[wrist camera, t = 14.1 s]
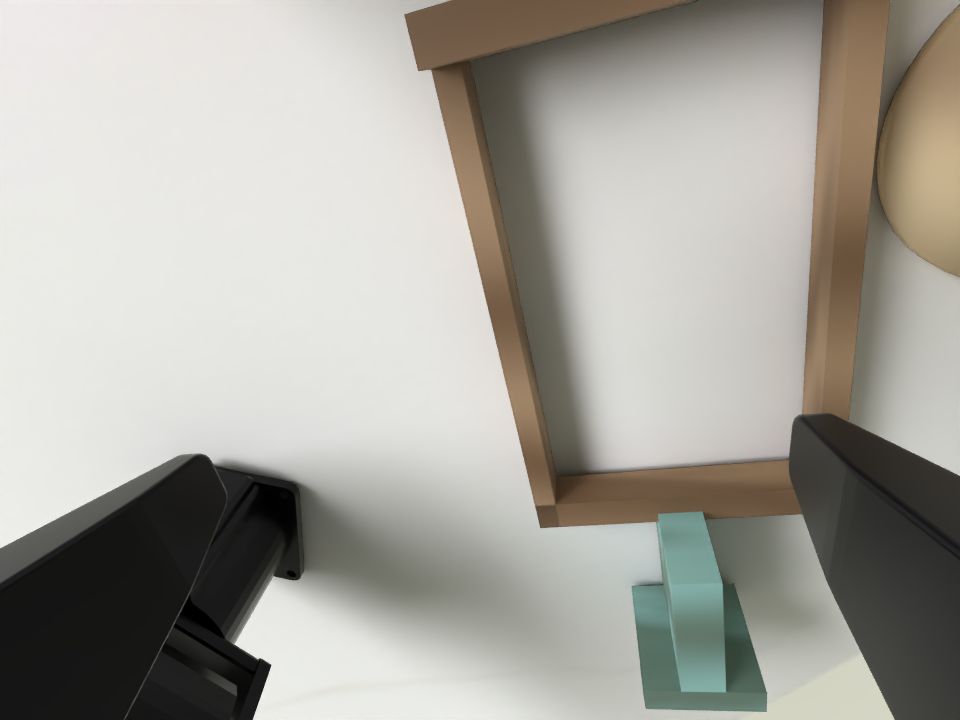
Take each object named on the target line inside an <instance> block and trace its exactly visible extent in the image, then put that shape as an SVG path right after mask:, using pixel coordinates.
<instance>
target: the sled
mask: <svg viewBox="0 0 960 720" xmlns="http://www.w3.org/2000/svg"><path fill="white" fill-rule="evenodd" d="M694 1H697V0H452V1H448V2H445V3H442V4H438V5H435V6H431V7H428V8H425V9H421V10H418V11H415V12H411V13H408V14H404V15H405V19H406V23H407V27H408V31H409V35H410V39H411V43H412V48H413V52H414V56H415V60H416V64H417V68H418V71H423V70H431V71H432V75H433V79H434V83H435V87H436V92H437V96H438V100H439V104H440V108H441V113H442V117H443V121H444V125H445V129H446V133H447V138H448V142H449V146H450V150H451V154H452V159H453V163H454V167H455V171H456V175H457V180H458V184H459V188H460V192H461V196H462V201H463V205H464V209H465V213H466V217H467V222H468V226H469V230H470V234H471V238H472V243H473V247H474V251H475V255H476V259H477V264H478V268H479V272H480V276H481V280H482V285H483V289H484V293H485V297H486V301H487V306H488V310H489V314H490V318H491V322H492V327H493V331H494V335H495V339H496V343H497V348H498V352H499V356H500V360H501V364H502V368H503V373H504V377H505V381H506V385H507V389H508V394H509V398H510V402H511V406H512V410H513V415H514V419H515V423H516V427H517V431H518V436H519V440H520V444H521V448H522V452H523V457H524V461H525V465H526V469H527V473H528V478H529V482H530V486H531V490H532V494H533V499H534V503H535V507H536V511H537V515H538V520H539V524H540V528H549V527H568V526H586V525H605V524H624V523H643V522H657V530H658V540H659V549H660V559H661V568H662V578H663V585H658V586H632V593H633V602H634V612H635V621H636V630H637V639H638V648H639V657H640V667H641V676H642V685H643V693H644V700H645V707H646V709H672V710H713V711H753V712H766V711H767V692H766V688H765V685H764V682H763V678H762V675H761V672H760V668H759V665H758V662H757V658H756V655H755V652H754V648H753V645H752V642H751V639H750V635H749V632H748V629H747V625H746V622H745V619H744V615H743V612H742V609H741V605H740V602H739V599H738V595H737V592H736V589H735V586H734V583H733V584H723V583H722V579H721V576H720V572H719V569H718V565H717V561H716V558H715V554H714V551H713V547H712V544H711V540H710V537H709V533H708V529H707V526H706V522H705V519H718V518H737V517H756V516H774V515H793V514H802V511H801V508H800V505H799V502H798V500H797V497H796V494H795V491H794V488H793V486H792V483H791V480H790V475H789V466H788V463H789V460H779V461H766V462H752V463H739V464H726V465H712V466H699V467H685V468H672V469H659V470H645V471H632V472H619V473H605V474H592V475H579V476H565V477H556V472H555V467H554V463H553V458H552V453H551V448H550V443H549V439H548V434H547V429H546V424H545V419H544V415H543V410H542V405H541V400H540V395H539V391H538V386H537V381H536V376H535V371H534V366H533V362H532V357H531V352H530V347H529V342H528V338H527V333H526V328H525V323H524V318H523V314H522V309H521V304H520V299H519V294H518V290H517V285H516V280H515V275H514V270H513V266H512V261H511V256H510V251H509V246H508V242H507V237H506V232H505V227H504V222H503V217H502V213H501V208H500V203H499V198H498V193H497V189H496V184H495V179H494V174H493V169H492V165H491V160H490V155H489V150H488V145H487V141H486V136H485V131H484V126H483V121H482V117H481V112H480V107H479V102H478V97H477V93H476V88H475V83H474V78H473V73H472V68H471V64H470V61H472V60H476V59H479V58H483V57H487V56H491V55H494V54H498V53H502V52H506V51H509V50H513V49H517V48H521V47H524V46H528V45H532V44H536V43H540V42H543V41H547V40H551V39H555V38H558V37H562V36H566V35H570V34H573V33H577V32H581V31H585V30H588V29H592V28H596V27H600V26H603V25H607V24H611V23H615V22H619V21H622V20H626V19H630V18H634V17H637V16H641V15H645V14H649V13H652V12H656V11H660V10H664V9H667V8H671V7H675V6H679V5H682V4H686V3H690V2H694ZM889 7H890V0H824V11H823V30H822V49H821V68H820V87H819V106H818V125H817V144H816V163H815V182H814V200H813V219H812V238H811V257H810V276H809V295H808V314H807V333H806V352H805V371H804V390H803V409H802V414H814V413H831V414H834V415H836V416H838V417H840V418H842V419H844V420H846V421H848V418H849V408H850V398H851V388H852V378H853V368H854V358H855V348H856V338H857V328H858V318H859V307H860V297H861V287H862V277H863V267H864V257H865V247H866V237H867V227H868V217H869V207H870V197H871V187H872V177H873V167H874V157H875V147H876V137H877V127H878V117H879V107H880V97H881V87H882V77H883V67H884V57H885V47H886V37H887V27H888V17H889Z"/></svg>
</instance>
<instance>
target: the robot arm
mask: <svg viewBox="0 0 960 720" xmlns="http://www.w3.org/2000/svg"><path fill="white" fill-rule="evenodd" d="M788 466H789V475H790V480H791V483H792V486H793V488H794V491H795V494H796V497H797V500H798V502H799V505H800V508H801V511H802V514H803V516H804V519H805V522H806V525H807V528H808V530H809V533H810V536H811V539H812V542H813V545H814V547H815V550H816V553H817V556H818V559H819V561H820V564H821V567H822V569H823V572H824V575H825V577H826V580H827V582H828V585H829V587H830V589H831V591H832V593H833V596H834V598H835V600H836V602H837V604H838V606H839V608H840V610H841V612H842V614H843V616H844V618H845V620H846V622H847V624H848V626H849V628H850V630H851V632H852V634H853V636H854V638H855V640H856V642H857V644H858V646H859V648H860V650H861V653H862V655H863V657H864V659H865V660H866V663H867V665H868V667H869V669H870V671H871V673H872V675H873V677H874V679H875V681H876V683H877V685H878V687H879V689H880V691H881V693H882V695H883V697H884V699H885V701H886V703H887V705H888V707H889V709H890V711H891V713H892V715H893V717H894V719H895V720H960V476H959V475H957V474H955V473H953V472H951V471H949V470H947V469H945V468H942V467H940V466H938V465H936V464H934V463H932V462H930V461H928V460H926V459H924V458H922V457H920V456H918V455H916V454H914V453H912V452H910V451H908V450H906V449H904V448H902V447H899V446H897V445H895V444H893V443H891V442H889V441H887V440H885V439H883V438H881V437H879V436H877V435H875V434H873V433H871V432H869V431H867V430H865V429H863V428H861V427H859V426H856V425H854V424H852V423H850V422H848V421H846V420H844V419H842V418H840V417H838V416H836V415H834V414H831V413H814V414H801V415H798V416H797V417H796V418H795V419H794V422H793V425H792V434H791V443H790V453H789V463H788ZM286 492H287V493H286ZM303 572H304V560H303V544H302V529H301V513H300V498H299V490H298V488H297V487H296V486H295V485H294V484H293V483H290V482H286V481H281V480H276V479H272V478H267V477H262V476H257V475H252V474H247V473H242V472H237V471H232V470H227V469H222V468H217V467H214V465H213V463H212V461H211V460H210V458H209V457H208V456H206V455H204V454H186V455H180V456H177V457H175V458H173V459H171V460H169V461H167V462H166V463H164V464H162V465H160V466H158V467H156V468H154V469H152V470H150V471H148V472H146V473H144V474H142V475H141V476H139V477H137V478H135V479H133V480H131V481H129V482H127V483H125V484H123V485H121V486H119V487H118V488H116V489H114V490H112V491H110V492H108V493H106V494H104V495H102V496H100V497H98V498H96V499H94V500H93V501H91V502H89V503H87V504H85V505H83V506H81V507H79V508H77V509H75V510H73V511H71V512H69V513H68V514H66V515H64V516H62V517H60V518H58V519H56V520H54V521H52V522H50V523H48V524H46V525H44V526H43V527H41V528H39V529H37V530H35V531H33V532H31V533H29V534H27V535H25V536H23V537H21V538H20V539H18V540H16V541H14V542H12V543H10V544H8V545H6V546H4V547H2V548H0V720H253V717H254V714H255V711H256V708H257V706H258V703H259V700H260V697H261V694H262V691H263V688H264V685H265V682H266V680H267V677H268V674H269V671H270V668H271V664H269V663H268V662H266V661H265V660H263V659H261V658H260V659H257V658H255V657H253V656H252V655H250V654H249V653H247V652H245V651H244V650H242V649H240V648H239V647H237V646H236V645H234V644H235V642H236V640H237V639H238V637H239V635H240V633H241V632H242V630H243V628H244V626H245V625H246V623H247V621H248V619H249V618H250V616H251V614H252V612H253V611H254V609H255V607H256V605H257V604H258V602H259V600H260V598H261V597H262V595H263V593H264V591H265V590H266V588H267V586H268V584H269V583H270V581H271V579H272V577H273V576H275V577H280V578H284V579H289V580H299V579H300V578H301V576H302V574H303Z"/></svg>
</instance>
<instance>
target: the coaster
mask: <svg viewBox="0 0 960 720" xmlns="http://www.w3.org/2000/svg"><path fill="white" fill-rule="evenodd" d="M877 184H878V190H879V196H880V201H881V204H882V207H883V209H884V212H885V215H886V218H887V219H888V221H889V223H890V225H891V226H892V228H893V230H894V231H895V233H896V234H897V235H898V236H899V238H900V239H901V240H902V241H903V242H904V243H905V245H906V246H907V247H909V248H910V249H911V250H912V251H914V252H915V253H916V254H917V255H918V256H920V257H921V258H923V259H925V260H926V261H928V262H930V263H931V264H933V265H935V266H937V267H939V268H940V269H942V270H944V271H946V272H948V273H951V274H954V275H956V276H959V277H960V5H959V6H958V7H957V8H956V9H955V10H954V11H953V12H952V13H951V14H950V15H949V16H948V17H947V18H946V19H945V20H944V21H943V22H942V23H941V25H940V26H939V27H938V28H937V30H936V31H935V32H934V33H933V35H932V36H931V37H930V38H929V40H928V41H927V42H926V43H925V45H924V46H923V47H922V49H921V50H920V52H919V53H918V55H917V56H916V58H915V59H914V61H913V62H912V64H911V65H910V67H909V69H908V70H907V72H906V74H905V76H904V78H903V79H902V81H901V83H900V85H899V87H898V89H897V91H896V93H895V95H894V97H893V100H892V102H891V105H890V107H889V110H888V113H887V115H886V118H885V121H884V125H883V129H882V133H881V137H880V140H879V148H878V156H877Z"/></svg>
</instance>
